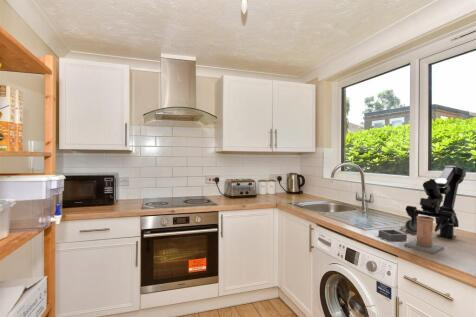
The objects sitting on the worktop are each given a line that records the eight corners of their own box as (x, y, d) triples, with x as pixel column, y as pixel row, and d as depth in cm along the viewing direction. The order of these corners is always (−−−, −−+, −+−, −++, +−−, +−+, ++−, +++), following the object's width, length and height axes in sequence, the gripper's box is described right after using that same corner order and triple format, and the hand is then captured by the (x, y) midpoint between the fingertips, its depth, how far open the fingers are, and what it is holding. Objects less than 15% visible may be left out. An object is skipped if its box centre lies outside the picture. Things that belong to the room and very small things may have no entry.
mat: (414, 241, 131) (415, 239, 131) (444, 248, 122) (444, 246, 122) (404, 246, 125) (404, 243, 124) (434, 254, 115) (434, 251, 115)
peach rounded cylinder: (419, 241, 128) (419, 215, 128) (435, 245, 122) (435, 218, 122) (411, 245, 123) (412, 217, 123) (428, 249, 118) (428, 220, 117)
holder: (393, 235, 142) (394, 229, 141) (406, 240, 133) (406, 234, 133) (378, 235, 140) (378, 229, 140) (390, 241, 131) (390, 235, 131)
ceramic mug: (424, 231, 149) (424, 218, 149) (421, 234, 143) (421, 220, 143) (402, 228, 156) (402, 215, 156) (398, 230, 150) (398, 217, 150)
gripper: (407, 189, 133) (396, 214, 126) (453, 194, 117) (444, 222, 111) (413, 203, 137) (403, 227, 131) (458, 210, 122) (449, 237, 116)
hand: (423, 228), depth 122 cm, fingers open, 9 cm apart
